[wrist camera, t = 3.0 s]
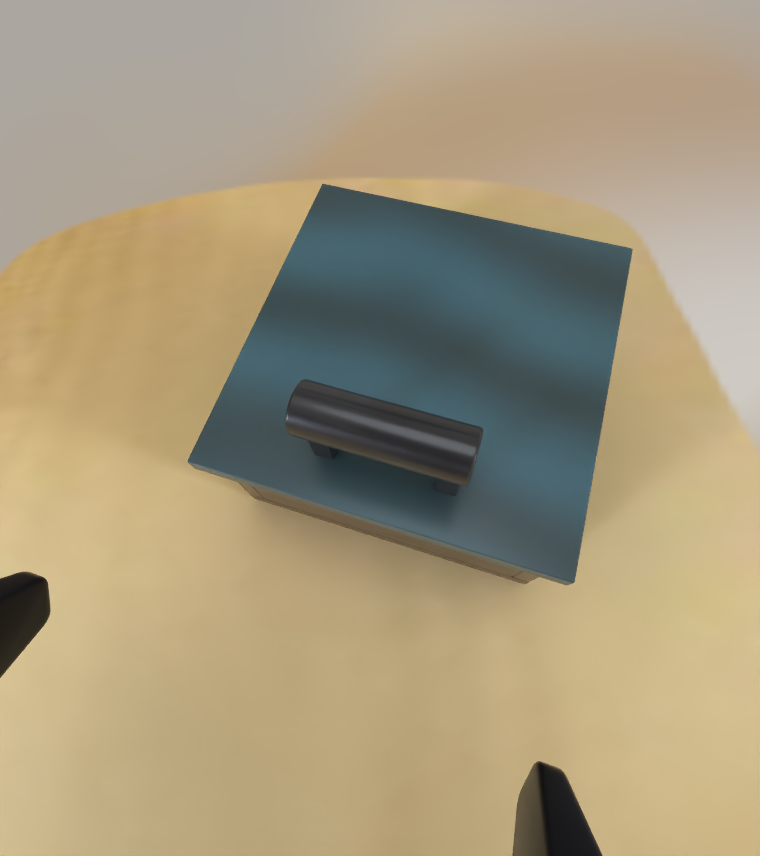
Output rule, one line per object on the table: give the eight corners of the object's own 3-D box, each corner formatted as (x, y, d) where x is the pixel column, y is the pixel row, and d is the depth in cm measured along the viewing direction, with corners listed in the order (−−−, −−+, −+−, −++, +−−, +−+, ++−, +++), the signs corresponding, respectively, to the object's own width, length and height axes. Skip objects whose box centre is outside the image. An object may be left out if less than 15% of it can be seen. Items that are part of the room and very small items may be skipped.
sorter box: (525, 584, 21) (570, 563, 16) (253, 498, 23) (204, 450, 17) (574, 348, 26) (624, 262, 20) (341, 291, 27) (324, 197, 22)
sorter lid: (567, 585, 15) (625, 566, 11) (194, 468, 17) (131, 416, 13) (625, 261, 20) (681, 165, 16) (324, 196, 22) (307, 96, 18)
